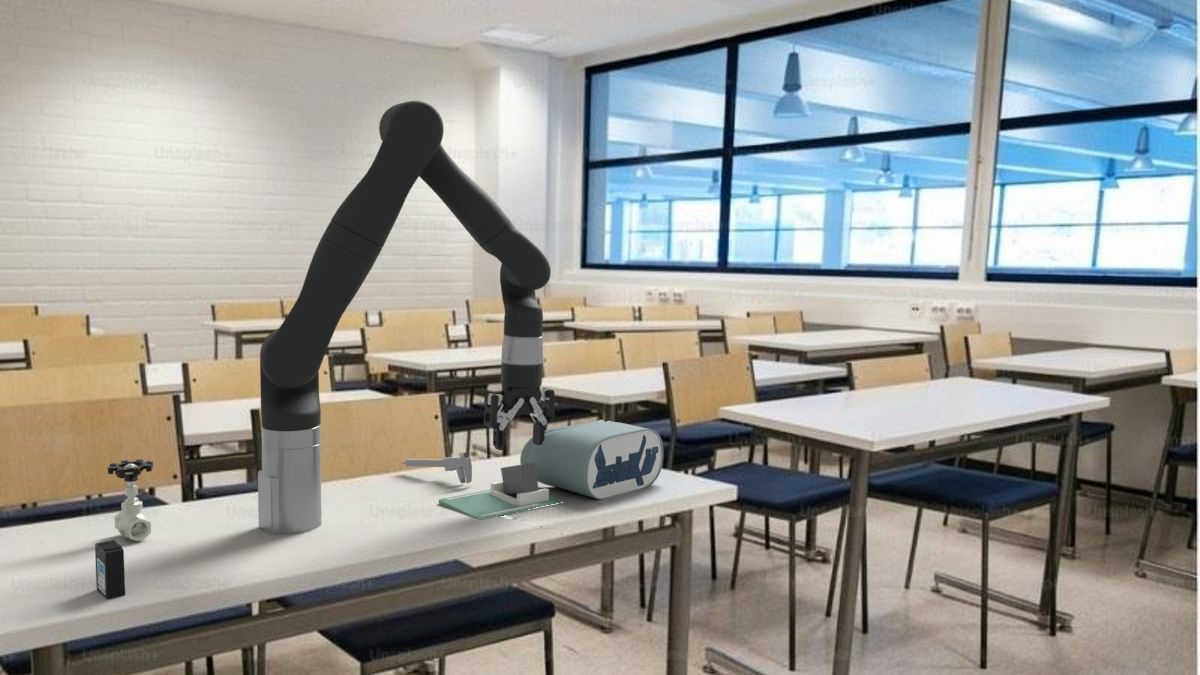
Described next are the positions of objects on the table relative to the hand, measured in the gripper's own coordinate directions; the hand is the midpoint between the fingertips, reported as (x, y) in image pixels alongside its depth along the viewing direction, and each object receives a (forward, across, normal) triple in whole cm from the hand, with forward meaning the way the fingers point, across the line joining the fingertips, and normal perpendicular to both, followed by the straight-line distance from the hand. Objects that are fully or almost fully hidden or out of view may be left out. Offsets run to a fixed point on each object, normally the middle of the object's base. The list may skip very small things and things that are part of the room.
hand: (518, 446), depth 168 cm
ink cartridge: (+12, -69, -6) cm, 70 cm away
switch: (+5, 0, -4) cm, 6 cm away
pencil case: (+11, +18, 0) cm, 21 cm away
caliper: (+12, -3, +24) cm, 27 cm away
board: (+11, -4, 0) cm, 11 cm away
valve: (+12, -61, +20) cm, 65 cm away
